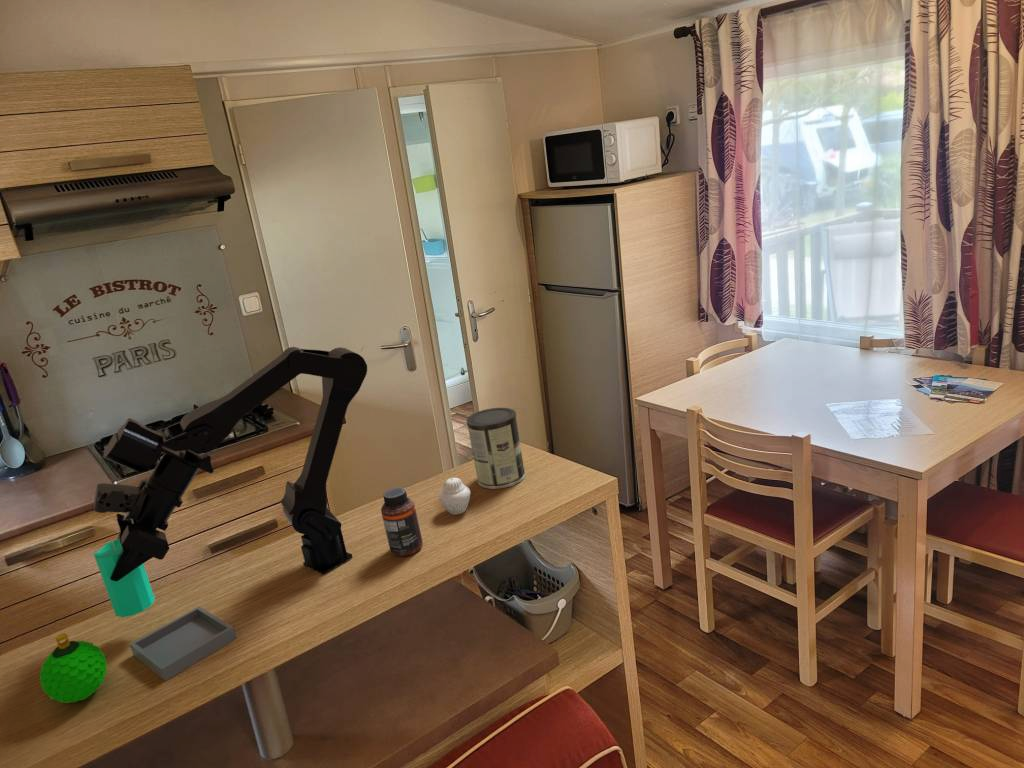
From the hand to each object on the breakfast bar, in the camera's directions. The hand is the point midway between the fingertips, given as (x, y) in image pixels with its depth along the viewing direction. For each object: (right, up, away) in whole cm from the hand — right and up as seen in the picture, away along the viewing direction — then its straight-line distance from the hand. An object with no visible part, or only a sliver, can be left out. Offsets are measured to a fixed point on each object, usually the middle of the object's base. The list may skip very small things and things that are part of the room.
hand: (112, 572), depth 116 cm
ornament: (+1, -15, -10) cm, 18 cm away
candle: (+2, -6, +3) cm, 7 cm away
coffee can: (+60, +9, +41) cm, 73 cm away
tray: (+12, -11, -2) cm, 16 cm away
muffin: (+51, +4, +30) cm, 59 cm away
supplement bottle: (+43, 0, +18) cm, 47 cm away
